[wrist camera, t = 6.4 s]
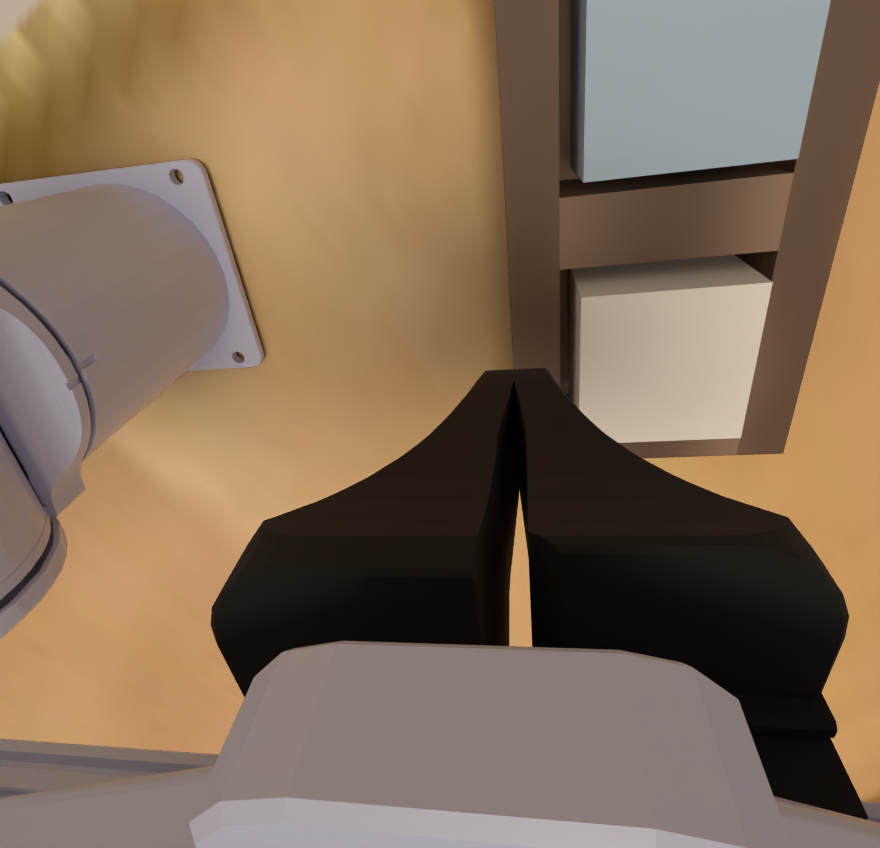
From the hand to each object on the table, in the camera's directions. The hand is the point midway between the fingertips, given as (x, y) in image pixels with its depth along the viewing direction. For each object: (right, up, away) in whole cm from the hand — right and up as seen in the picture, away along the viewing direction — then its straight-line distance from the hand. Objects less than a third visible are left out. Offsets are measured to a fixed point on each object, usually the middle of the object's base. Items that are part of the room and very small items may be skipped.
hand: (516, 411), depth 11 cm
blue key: (+4, +10, +3) cm, 11 cm away
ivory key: (+5, +3, +7) cm, 10 cm away
